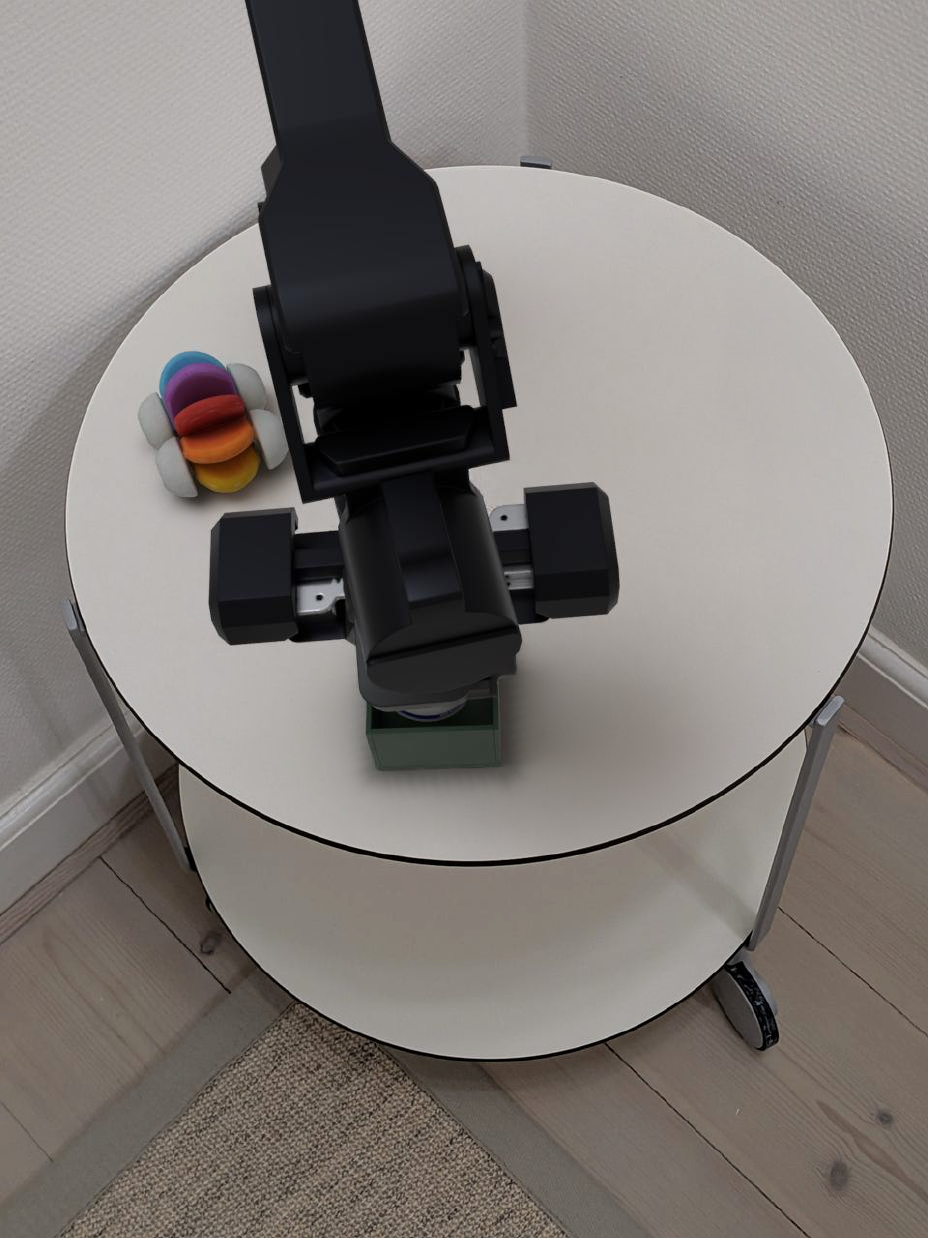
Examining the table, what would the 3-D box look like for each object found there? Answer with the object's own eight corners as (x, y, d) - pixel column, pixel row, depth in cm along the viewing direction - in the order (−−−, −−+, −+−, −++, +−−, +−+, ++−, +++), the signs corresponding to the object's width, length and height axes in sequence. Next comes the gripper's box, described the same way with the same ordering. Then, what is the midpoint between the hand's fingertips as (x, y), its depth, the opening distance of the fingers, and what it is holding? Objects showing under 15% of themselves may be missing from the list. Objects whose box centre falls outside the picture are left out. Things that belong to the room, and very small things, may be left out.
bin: (377, 770, 72) (365, 734, 67) (379, 659, 75) (368, 616, 70) (501, 766, 71) (499, 729, 67) (497, 654, 75) (495, 611, 70)
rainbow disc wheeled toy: (181, 526, 80) (150, 461, 74) (139, 417, 85) (106, 347, 78) (303, 479, 82) (283, 411, 75) (255, 374, 86) (233, 301, 79)
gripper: (167, 667, 48) (249, 801, 62) (648, 627, 48) (622, 770, 62) (178, 433, 53) (252, 605, 67) (612, 396, 53) (596, 576, 67)
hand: (427, 641), depth 65 cm, fingers closed on energy drink, 5 cm apart
